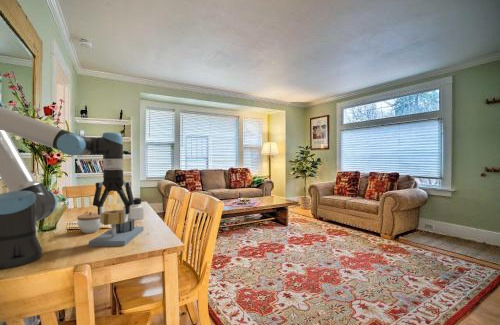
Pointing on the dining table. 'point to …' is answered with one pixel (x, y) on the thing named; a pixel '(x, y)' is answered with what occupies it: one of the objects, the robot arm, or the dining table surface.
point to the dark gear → (125, 226)
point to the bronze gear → (112, 217)
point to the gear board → (115, 237)
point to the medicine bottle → (136, 210)
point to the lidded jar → (89, 222)
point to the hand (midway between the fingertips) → (114, 221)
